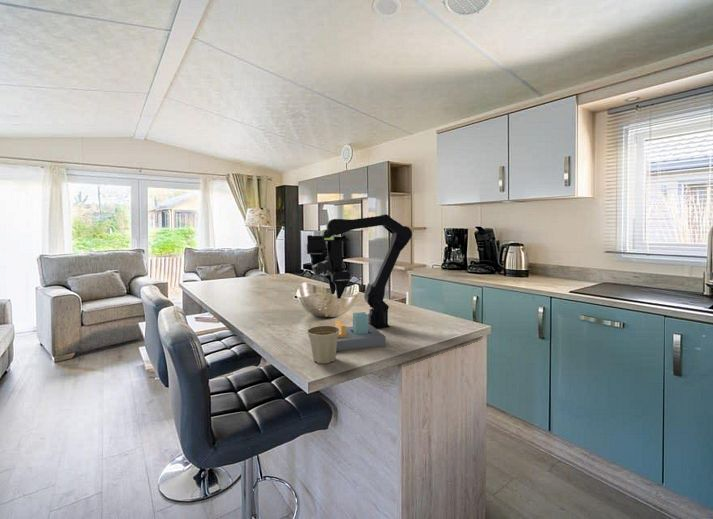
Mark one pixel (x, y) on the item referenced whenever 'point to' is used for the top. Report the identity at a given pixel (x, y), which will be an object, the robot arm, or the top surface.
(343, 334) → the orange block
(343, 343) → the socket plate
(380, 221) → the robot arm
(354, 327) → the plug
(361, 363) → the top surface
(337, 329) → the flower pot
